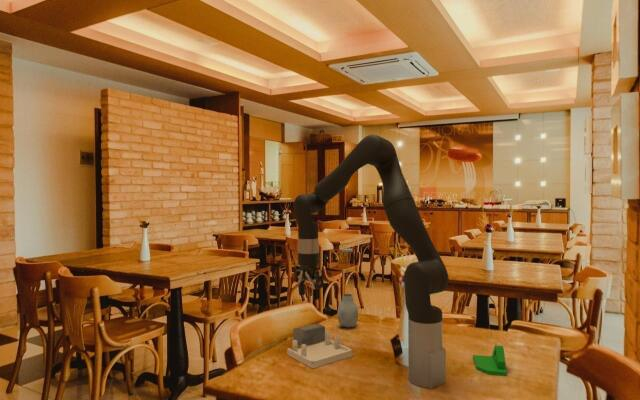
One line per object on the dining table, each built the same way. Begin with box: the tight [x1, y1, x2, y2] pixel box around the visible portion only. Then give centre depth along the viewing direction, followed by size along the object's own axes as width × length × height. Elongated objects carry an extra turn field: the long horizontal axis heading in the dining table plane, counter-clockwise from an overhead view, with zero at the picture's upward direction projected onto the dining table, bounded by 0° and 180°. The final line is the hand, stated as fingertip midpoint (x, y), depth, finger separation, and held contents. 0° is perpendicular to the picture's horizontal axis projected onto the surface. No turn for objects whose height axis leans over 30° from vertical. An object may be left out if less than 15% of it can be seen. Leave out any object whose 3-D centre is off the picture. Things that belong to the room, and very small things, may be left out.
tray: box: [286, 331, 354, 369], centre depth 144 cm, size 14×16×5 cm
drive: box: [292, 323, 326, 347], centre depth 158 cm, size 5×10×5 cm, turn 127°
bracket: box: [472, 344, 508, 377], centre depth 134 cm, size 12×8×7 cm, turn 168°
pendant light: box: [336, 248, 359, 328], centre depth 173 cm, size 8×8×30 cm
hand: (308, 297), depth 157 cm, fingers open, 8 cm apart
